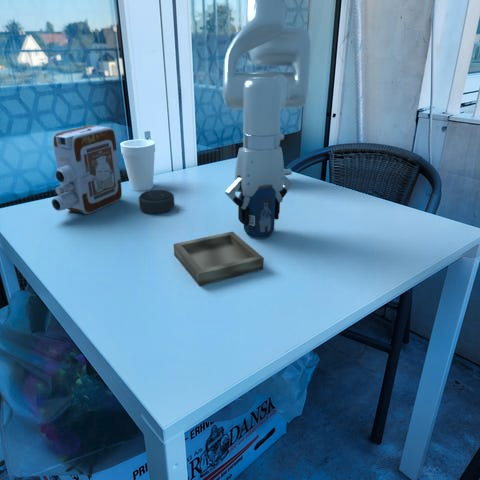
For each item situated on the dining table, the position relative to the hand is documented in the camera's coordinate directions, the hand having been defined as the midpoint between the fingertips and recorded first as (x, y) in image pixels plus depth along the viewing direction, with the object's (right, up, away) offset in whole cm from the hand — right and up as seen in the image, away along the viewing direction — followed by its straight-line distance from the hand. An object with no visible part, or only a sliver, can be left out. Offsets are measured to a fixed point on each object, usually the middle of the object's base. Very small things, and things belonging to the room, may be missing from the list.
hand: (259, 219), depth 96 cm
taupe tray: (-9, -9, -11) cm, 16 cm away
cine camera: (-44, +3, +15) cm, 46 cm away
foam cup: (-33, +11, +30) cm, 46 cm away
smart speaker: (-26, +3, +15) cm, 30 cm away
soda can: (0, -3, +2) cm, 3 cm away
